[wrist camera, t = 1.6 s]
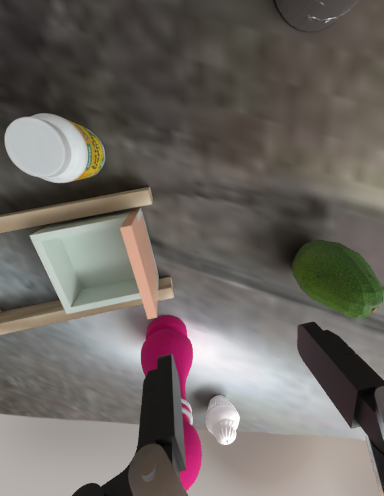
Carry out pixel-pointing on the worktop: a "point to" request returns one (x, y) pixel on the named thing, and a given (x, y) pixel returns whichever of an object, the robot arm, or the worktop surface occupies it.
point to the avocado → (337, 278)
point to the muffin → (222, 419)
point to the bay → (39, 216)
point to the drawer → (100, 261)
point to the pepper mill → (176, 342)
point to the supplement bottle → (54, 148)
